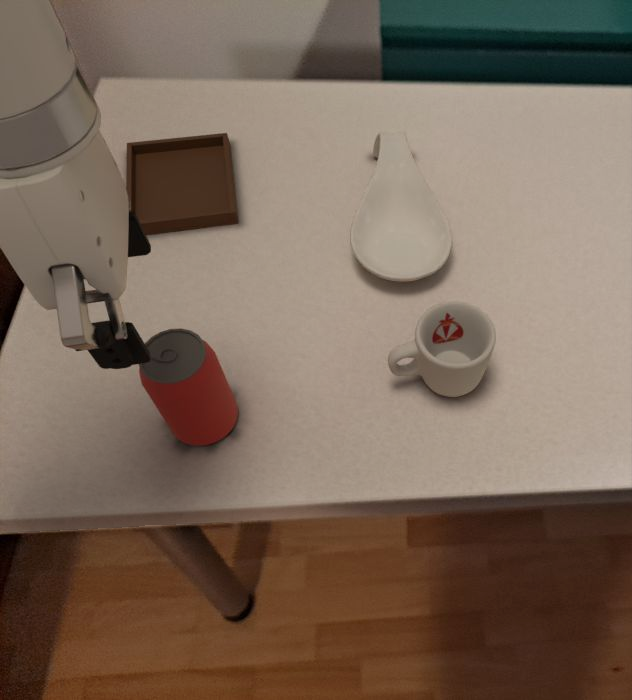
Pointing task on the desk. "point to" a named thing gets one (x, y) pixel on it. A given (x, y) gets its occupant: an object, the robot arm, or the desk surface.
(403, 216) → the spoon rest
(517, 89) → the desk surface
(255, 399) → the desk surface
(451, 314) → the cup
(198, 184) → the tray
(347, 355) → the desk surface
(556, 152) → the desk surface
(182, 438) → the beer can
